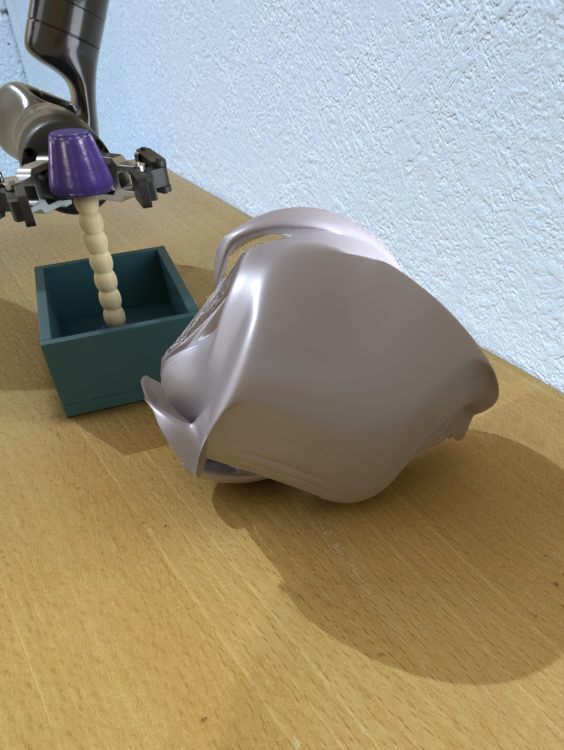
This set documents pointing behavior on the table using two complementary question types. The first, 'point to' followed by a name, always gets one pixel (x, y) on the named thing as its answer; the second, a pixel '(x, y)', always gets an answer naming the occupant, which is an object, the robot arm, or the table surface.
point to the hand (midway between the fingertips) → (88, 203)
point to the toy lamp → (87, 207)
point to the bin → (113, 345)
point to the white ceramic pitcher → (316, 364)
